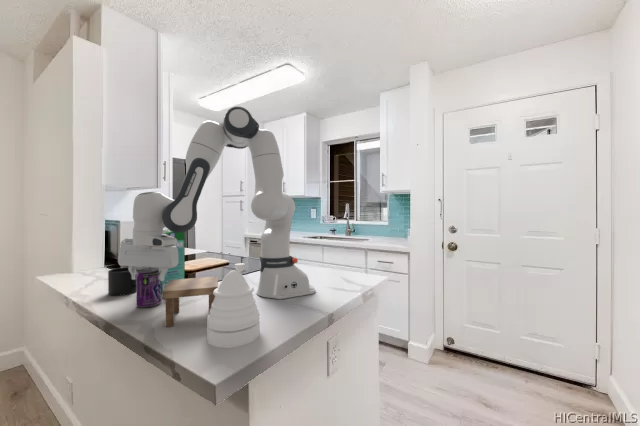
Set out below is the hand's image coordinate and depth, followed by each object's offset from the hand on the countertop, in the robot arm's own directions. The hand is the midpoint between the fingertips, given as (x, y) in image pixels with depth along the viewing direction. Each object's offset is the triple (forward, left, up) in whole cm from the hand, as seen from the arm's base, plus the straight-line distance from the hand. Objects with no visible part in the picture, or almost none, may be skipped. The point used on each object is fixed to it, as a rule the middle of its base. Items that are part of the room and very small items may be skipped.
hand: (147, 280), depth 96 cm
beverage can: (0, +1, -9) cm, 9 cm away
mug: (+12, -19, -9) cm, 24 cm away
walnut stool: (-15, +17, -9) cm, 24 cm away
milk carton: (-3, -19, -9) cm, 22 cm away
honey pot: (-26, +35, -9) cm, 44 cm away
